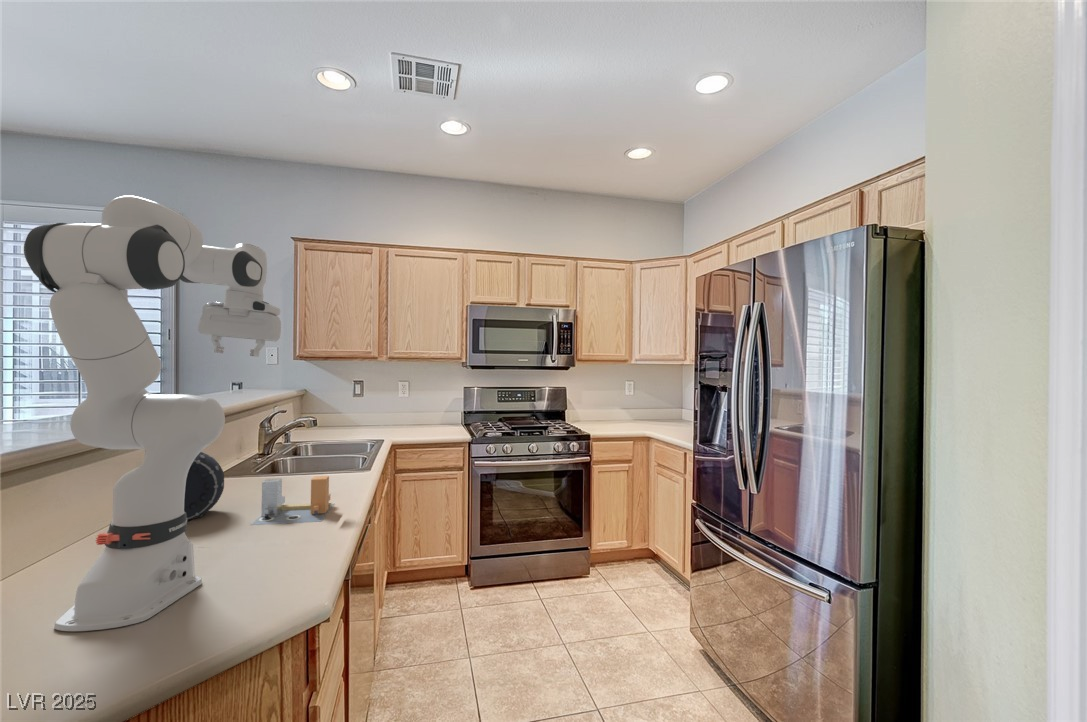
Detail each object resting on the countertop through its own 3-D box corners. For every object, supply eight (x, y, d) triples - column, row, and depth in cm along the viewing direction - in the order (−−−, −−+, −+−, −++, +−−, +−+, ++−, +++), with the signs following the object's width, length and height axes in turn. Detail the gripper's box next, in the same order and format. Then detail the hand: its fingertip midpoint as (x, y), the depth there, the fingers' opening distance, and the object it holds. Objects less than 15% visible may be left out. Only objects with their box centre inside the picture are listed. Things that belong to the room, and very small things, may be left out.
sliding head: (322, 516, 136) (323, 481, 136) (307, 516, 135) (308, 481, 136) (332, 504, 148) (332, 472, 148) (318, 505, 147) (318, 472, 147)
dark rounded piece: (221, 521, 135) (223, 451, 135) (130, 532, 125) (132, 456, 125) (225, 510, 144) (226, 445, 144) (140, 520, 134) (142, 450, 135)
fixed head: (273, 519, 134) (274, 484, 134) (257, 520, 133) (258, 484, 133) (286, 507, 145) (287, 474, 145) (272, 507, 144) (272, 475, 144)
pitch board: (321, 525, 133) (321, 517, 133) (250, 529, 129) (250, 521, 129) (334, 507, 149) (335, 500, 149) (272, 510, 146) (272, 503, 146)
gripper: (196, 298, 126) (188, 349, 125) (275, 306, 127) (268, 357, 126) (211, 303, 132) (204, 352, 131) (286, 310, 134) (279, 359, 133)
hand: (236, 354), depth 129 cm, fingers open, 8 cm apart
